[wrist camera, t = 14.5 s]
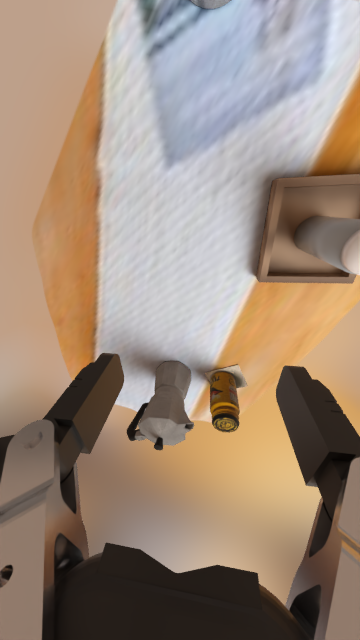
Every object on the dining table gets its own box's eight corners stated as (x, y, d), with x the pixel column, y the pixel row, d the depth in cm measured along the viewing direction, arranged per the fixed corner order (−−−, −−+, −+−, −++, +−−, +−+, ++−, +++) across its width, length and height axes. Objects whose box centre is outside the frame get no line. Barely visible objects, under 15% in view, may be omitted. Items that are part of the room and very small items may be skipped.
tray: (272, 180, 27) (278, 178, 25) (383, 174, 26) (401, 171, 23) (255, 276, 34) (259, 282, 32) (342, 277, 33) (352, 283, 30)
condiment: (204, 372, 48) (203, 417, 38) (238, 364, 45) (246, 410, 35) (215, 391, 51) (216, 438, 41) (247, 384, 48) (257, 433, 38)
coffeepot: (189, 353, 45) (178, 428, 30) (205, 380, 49) (203, 459, 34) (136, 369, 50) (104, 440, 35) (154, 392, 54) (132, 466, 39)
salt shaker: (298, 216, 28) (357, 222, 17) (336, 215, 28) (422, 221, 17) (290, 251, 31) (336, 277, 20) (324, 251, 30) (392, 277, 19)
